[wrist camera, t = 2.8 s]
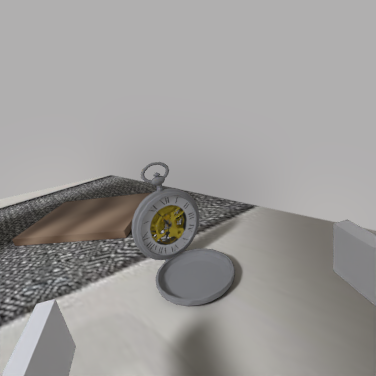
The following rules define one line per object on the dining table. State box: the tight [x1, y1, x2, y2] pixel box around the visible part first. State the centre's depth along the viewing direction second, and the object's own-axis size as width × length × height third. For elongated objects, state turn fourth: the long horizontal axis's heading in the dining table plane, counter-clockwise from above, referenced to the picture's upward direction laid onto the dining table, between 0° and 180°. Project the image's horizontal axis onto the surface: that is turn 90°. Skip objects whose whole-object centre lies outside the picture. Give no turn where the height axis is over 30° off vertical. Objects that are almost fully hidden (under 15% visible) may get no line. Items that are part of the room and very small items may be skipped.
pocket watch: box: [132, 162, 235, 306], centre depth 22 cm, size 8×8×10 cm
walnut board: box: [12, 193, 151, 246], centre depth 39 cm, size 16×12×1 cm
